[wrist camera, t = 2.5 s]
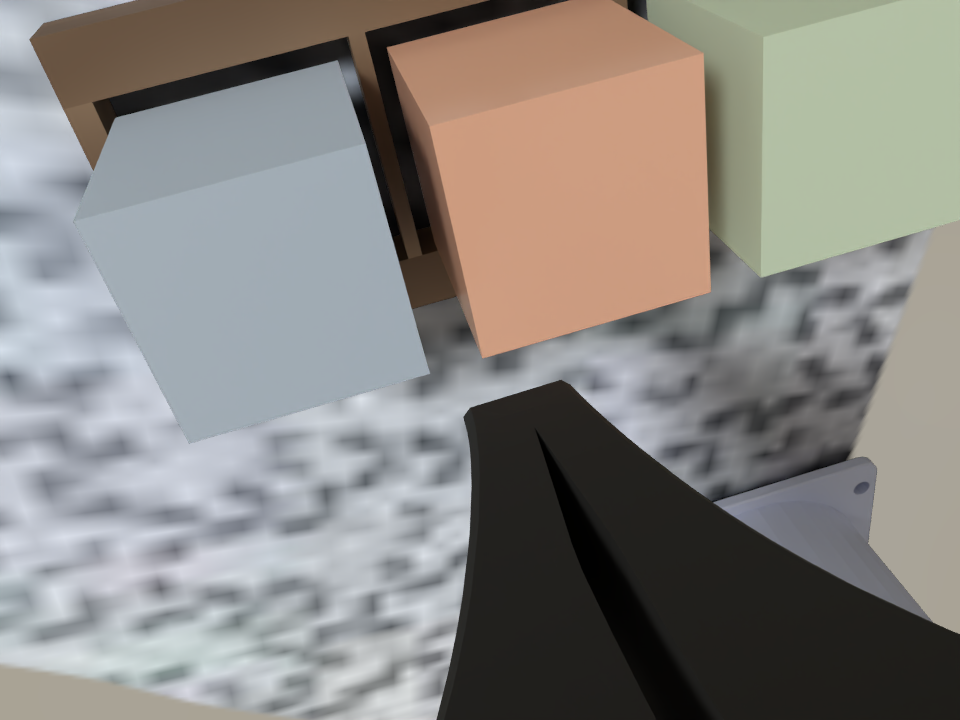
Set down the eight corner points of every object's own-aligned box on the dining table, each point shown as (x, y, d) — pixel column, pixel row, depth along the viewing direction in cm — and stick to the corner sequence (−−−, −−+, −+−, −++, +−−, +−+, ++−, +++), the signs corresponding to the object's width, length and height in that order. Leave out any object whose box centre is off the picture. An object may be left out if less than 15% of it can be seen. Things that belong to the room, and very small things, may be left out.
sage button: (833, 131, 18) (977, 214, 15) (658, 180, 18) (761, 277, 14) (846, -72, 16) (1020, -32, 12) (644, -20, 16) (763, 36, 12)
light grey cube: (392, 254, 17) (429, 374, 14) (201, 307, 17) (188, 443, 14) (337, 60, 15) (365, 142, 12) (115, 118, 15) (73, 220, 11)
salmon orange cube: (618, 192, 18) (710, 292, 14) (434, 243, 17) (482, 358, 14) (598, -8, 15) (703, 52, 12) (386, 47, 15) (429, 125, 12)
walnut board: (828, 163, 20) (857, 182, 19) (194, 342, 19) (191, 372, 18) (849, -177, 16) (887, -175, 15) (43, 23, 15) (29, 39, 14)
